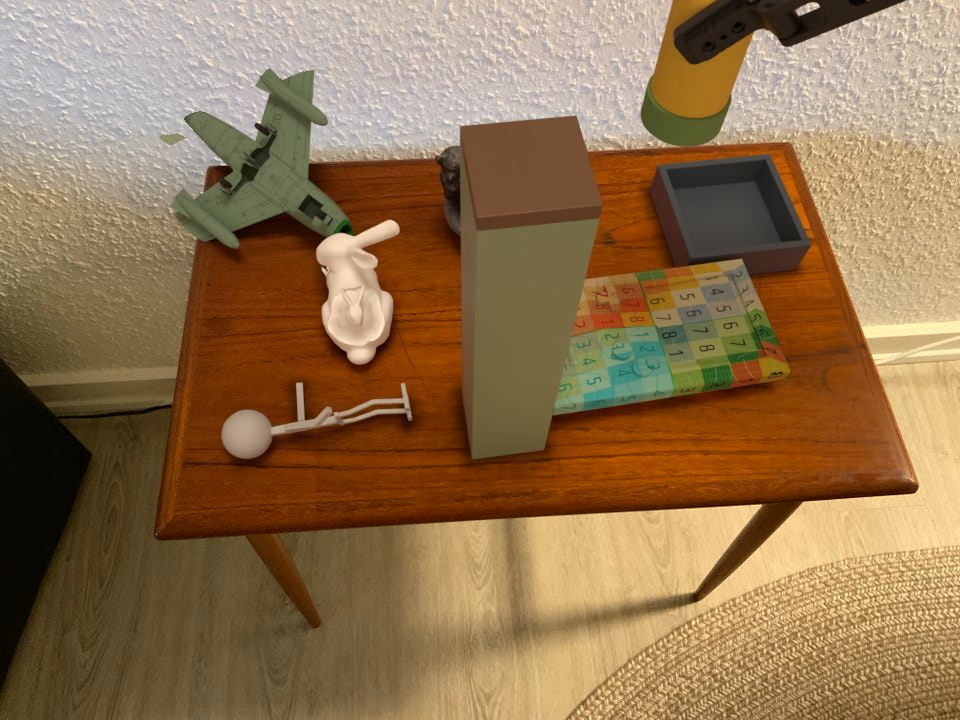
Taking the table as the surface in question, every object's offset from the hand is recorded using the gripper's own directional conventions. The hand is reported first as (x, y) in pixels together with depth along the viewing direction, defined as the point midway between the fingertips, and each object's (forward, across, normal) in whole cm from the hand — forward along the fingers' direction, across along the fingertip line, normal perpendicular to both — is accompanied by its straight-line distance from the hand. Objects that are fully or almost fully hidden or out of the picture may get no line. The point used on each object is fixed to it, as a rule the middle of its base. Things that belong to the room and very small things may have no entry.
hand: (677, 17), depth 40 cm
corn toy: (+3, 0, +6) cm, 7 cm away
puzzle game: (+19, +2, +25) cm, 32 cm away
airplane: (+41, -16, -8) cm, 45 cm away
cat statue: (+28, -11, +16) cm, 34 cm away
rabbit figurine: (+36, 0, +8) cm, 37 cm away
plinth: (+28, +10, +16) cm, 34 cm away
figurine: (+31, +8, +9) cm, 33 cm away
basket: (+13, -12, +31) cm, 36 cm away
